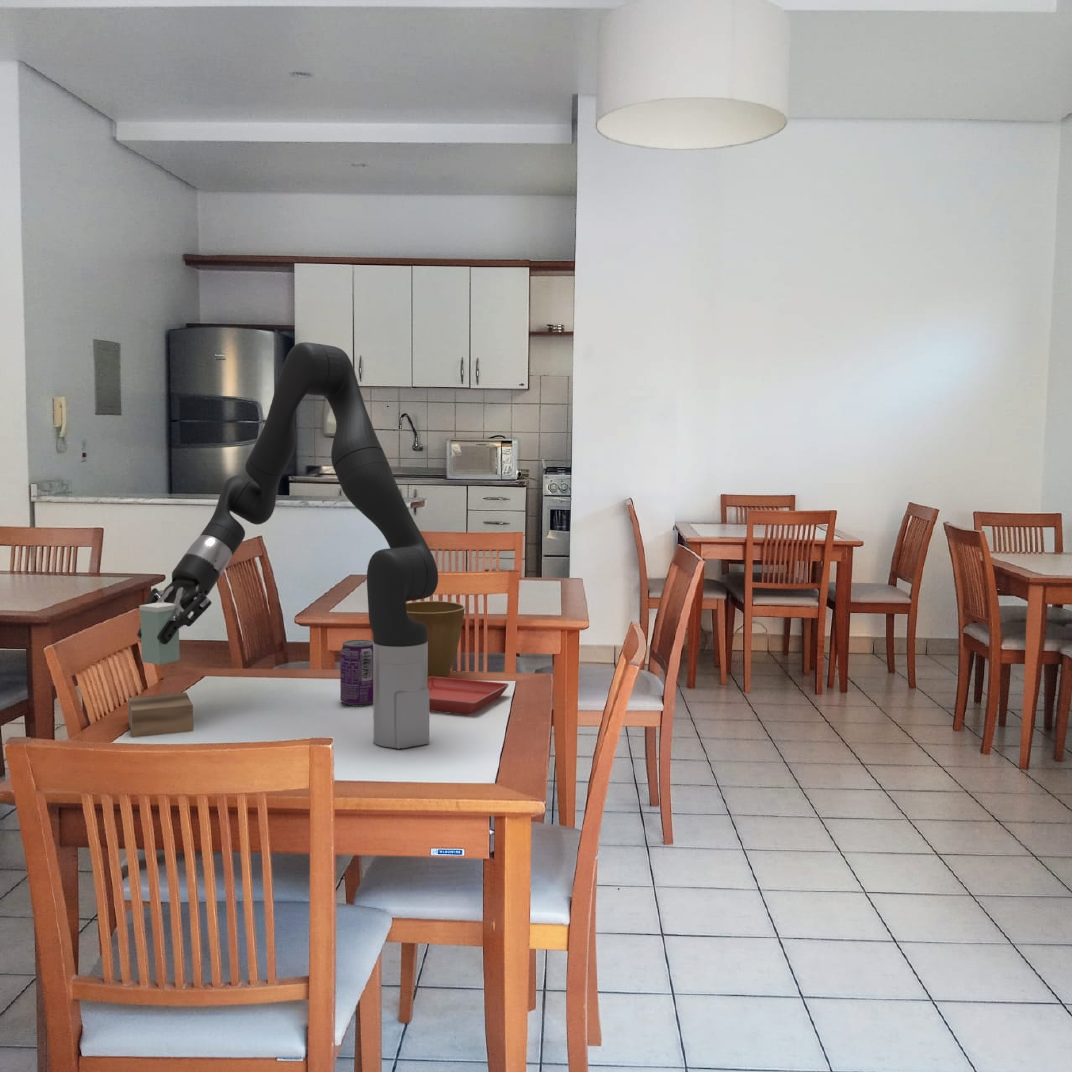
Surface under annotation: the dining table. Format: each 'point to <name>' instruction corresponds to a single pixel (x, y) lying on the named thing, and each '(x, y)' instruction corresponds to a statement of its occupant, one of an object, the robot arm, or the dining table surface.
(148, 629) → the tea tin
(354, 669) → the beverage can
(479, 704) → the plant saucer
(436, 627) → the plant pot
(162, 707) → the walnut box
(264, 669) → the dining table surface
